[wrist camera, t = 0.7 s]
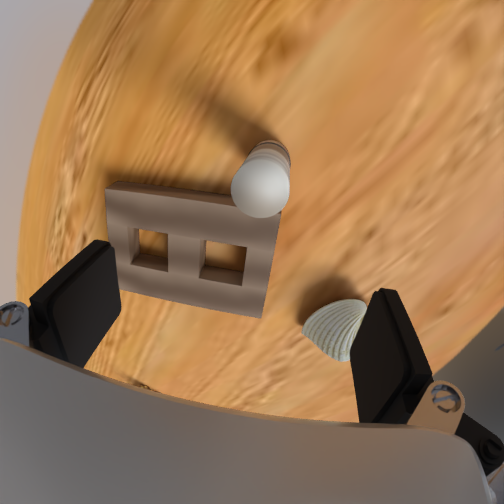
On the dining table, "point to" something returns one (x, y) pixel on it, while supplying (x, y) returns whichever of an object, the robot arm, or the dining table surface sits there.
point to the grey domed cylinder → (263, 180)
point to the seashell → (335, 327)
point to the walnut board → (189, 246)
